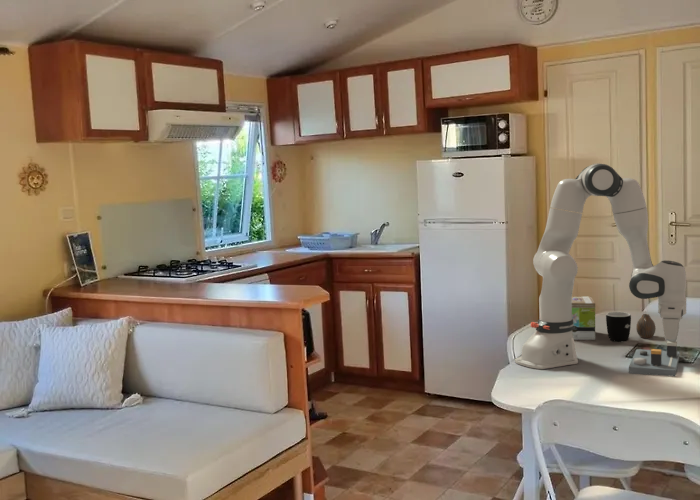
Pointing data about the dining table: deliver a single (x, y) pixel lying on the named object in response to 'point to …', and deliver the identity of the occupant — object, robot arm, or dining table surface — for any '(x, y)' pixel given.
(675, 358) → the console
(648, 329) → the vase
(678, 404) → the dining table surface
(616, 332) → the mug
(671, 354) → the fader white
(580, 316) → the tea box
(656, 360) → the fader orange
